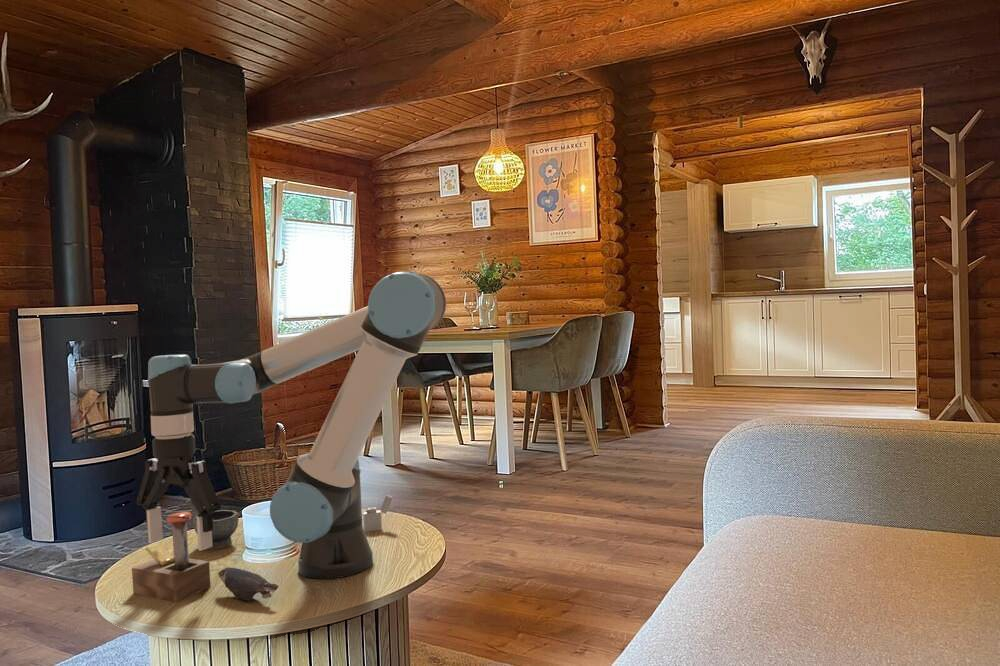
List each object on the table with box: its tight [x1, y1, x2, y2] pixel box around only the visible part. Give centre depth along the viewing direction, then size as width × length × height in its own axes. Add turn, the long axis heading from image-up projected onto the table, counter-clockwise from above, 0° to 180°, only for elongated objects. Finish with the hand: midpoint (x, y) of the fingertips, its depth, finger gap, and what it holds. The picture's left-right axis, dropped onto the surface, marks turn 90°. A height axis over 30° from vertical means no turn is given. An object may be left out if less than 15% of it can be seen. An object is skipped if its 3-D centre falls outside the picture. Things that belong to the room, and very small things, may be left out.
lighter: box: [362, 494, 394, 533], centre depth 184 cm, size 7×2×8 cm, turn 107°
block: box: [131, 555, 211, 602], centre depth 149 cm, size 12×8×5 cm, turn 64°
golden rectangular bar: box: [145, 541, 174, 567], centre depth 150 cm, size 5×3×1 cm
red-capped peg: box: [165, 511, 192, 571], centre depth 147 cm, size 4×4×15 cm
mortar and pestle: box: [185, 498, 239, 550], centre depth 177 cm, size 11×9×12 cm
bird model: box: [217, 566, 279, 602], centre depth 143 cm, size 4×17×5 cm, turn 56°
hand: (180, 544), depth 147 cm, fingers open, 13 cm apart
